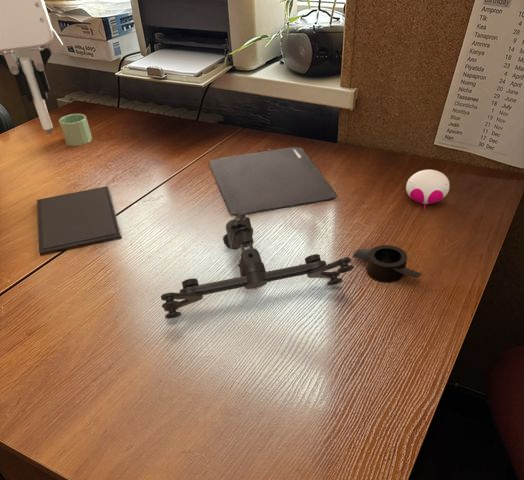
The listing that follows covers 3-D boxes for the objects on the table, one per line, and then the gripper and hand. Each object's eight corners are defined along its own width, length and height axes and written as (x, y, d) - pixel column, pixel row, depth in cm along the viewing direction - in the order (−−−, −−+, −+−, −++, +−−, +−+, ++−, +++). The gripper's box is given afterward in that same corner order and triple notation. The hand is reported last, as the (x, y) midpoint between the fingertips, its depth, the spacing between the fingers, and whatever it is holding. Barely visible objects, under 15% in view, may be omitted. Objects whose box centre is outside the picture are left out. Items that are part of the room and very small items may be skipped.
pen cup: (63, 148, 119) (55, 124, 115) (69, 138, 123) (62, 114, 119) (90, 146, 119) (83, 122, 115) (94, 136, 123) (88, 112, 119)
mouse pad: (339, 198, 96) (339, 197, 96) (230, 216, 93) (230, 215, 92) (300, 146, 113) (300, 145, 113) (208, 160, 110) (208, 159, 110)
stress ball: (401, 219, 96) (402, 203, 89) (407, 181, 97) (409, 162, 90) (443, 223, 94) (447, 206, 87) (449, 183, 95) (453, 164, 88)
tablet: (38, 202, 100) (36, 199, 100) (108, 189, 103) (107, 185, 102) (40, 255, 87) (38, 252, 86) (121, 238, 89) (120, 234, 89)
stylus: (43, 135, 82) (17, 60, 75) (46, 131, 84) (21, 57, 76) (53, 134, 82) (28, 59, 75) (55, 130, 84) (31, 56, 76)
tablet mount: (169, 332, 81) (161, 305, 65) (151, 250, 83) (139, 204, 67) (326, 298, 86) (356, 265, 69) (306, 221, 88) (329, 172, 71)
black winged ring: (391, 249, 83) (394, 234, 81) (424, 283, 76) (427, 267, 74) (349, 259, 82) (350, 244, 80) (378, 295, 75) (380, 279, 73)
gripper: (49, -59, 70) (87, 84, 83) (-72, -48, 67) (-13, 98, 80) (50, -52, 65) (90, 98, 78) (-81, -41, 62) (-17, 114, 75)
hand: (37, 97), depth 79 cm, fingers closed on stylus, 1 cm apart
